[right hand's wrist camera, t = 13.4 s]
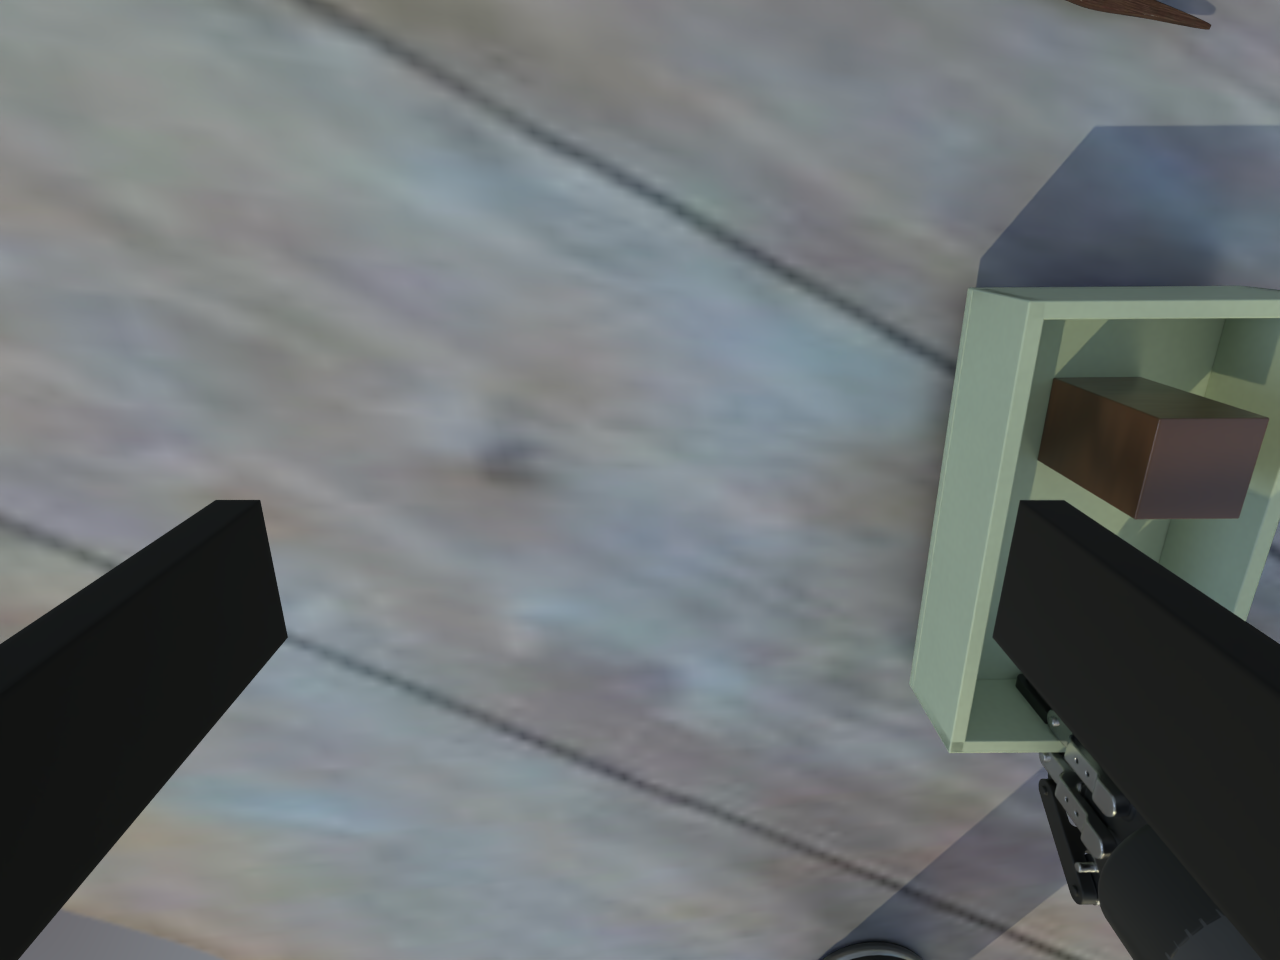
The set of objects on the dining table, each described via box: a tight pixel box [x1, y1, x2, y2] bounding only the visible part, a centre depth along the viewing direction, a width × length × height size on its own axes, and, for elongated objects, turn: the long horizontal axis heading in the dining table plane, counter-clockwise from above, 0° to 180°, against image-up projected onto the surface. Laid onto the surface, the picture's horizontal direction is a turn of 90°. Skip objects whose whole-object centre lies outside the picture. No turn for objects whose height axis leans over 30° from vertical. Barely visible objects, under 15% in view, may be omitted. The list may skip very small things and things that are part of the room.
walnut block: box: [1038, 377, 1269, 520], centre depth 33 cm, size 4×4×8 cm
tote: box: [909, 286, 1280, 753], centre depth 37 cm, size 24×14×6 cm, turn 0°
